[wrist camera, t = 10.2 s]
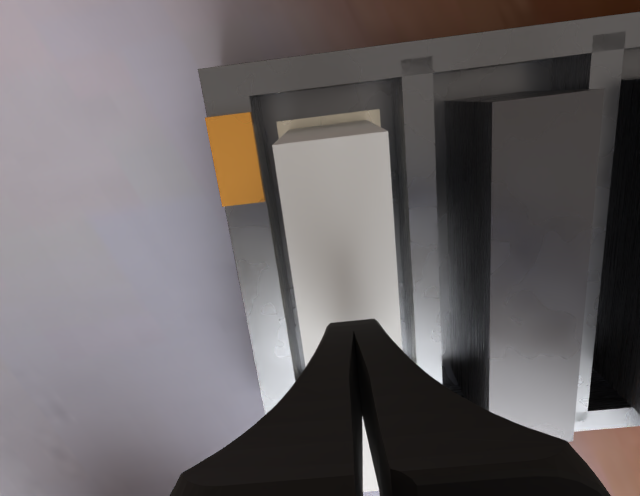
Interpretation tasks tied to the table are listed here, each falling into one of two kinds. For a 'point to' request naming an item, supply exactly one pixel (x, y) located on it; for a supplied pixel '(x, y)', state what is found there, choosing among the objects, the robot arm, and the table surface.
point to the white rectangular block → (340, 233)
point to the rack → (467, 209)
